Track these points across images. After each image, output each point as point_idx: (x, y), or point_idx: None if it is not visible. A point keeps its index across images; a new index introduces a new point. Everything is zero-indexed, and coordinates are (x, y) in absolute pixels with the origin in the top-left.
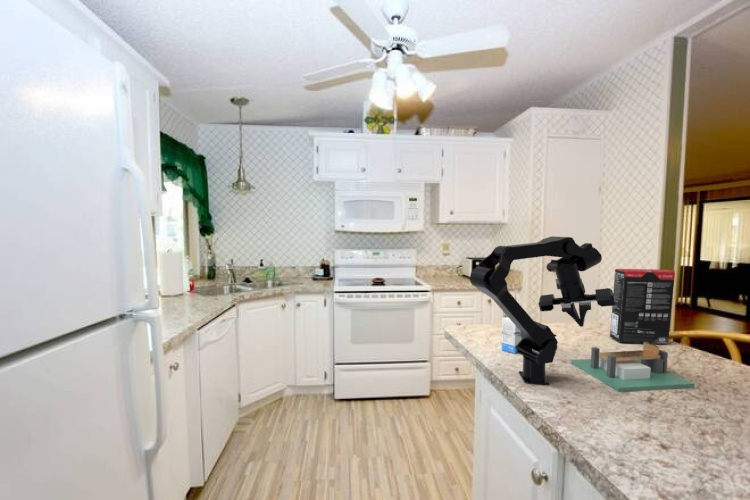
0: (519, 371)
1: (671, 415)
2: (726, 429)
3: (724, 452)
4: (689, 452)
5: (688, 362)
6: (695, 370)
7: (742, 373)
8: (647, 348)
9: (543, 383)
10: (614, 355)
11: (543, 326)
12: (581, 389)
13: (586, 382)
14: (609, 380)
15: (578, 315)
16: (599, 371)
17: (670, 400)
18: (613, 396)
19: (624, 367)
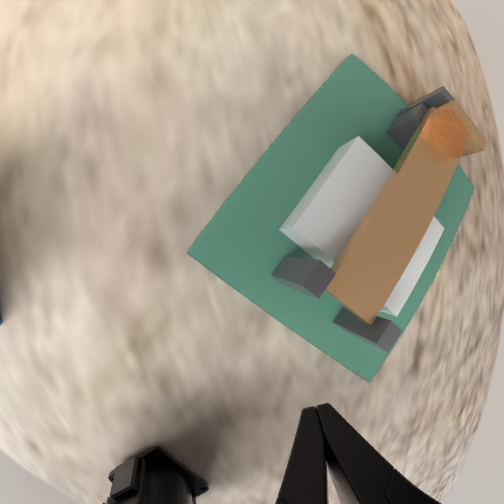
0: (109, 477)
1: (439, 394)
2: (486, 363)
3: (466, 435)
4: (434, 474)
5: (419, 23)
6: (443, 68)
7: (475, 50)
8: (449, 127)
9: (196, 494)
10: (382, 268)
11: None
12: (284, 446)
13: (283, 394)
14: (344, 352)
15: (326, 480)
16: (306, 296)
17: (445, 320)
18: (355, 416)
19: (396, 297)
